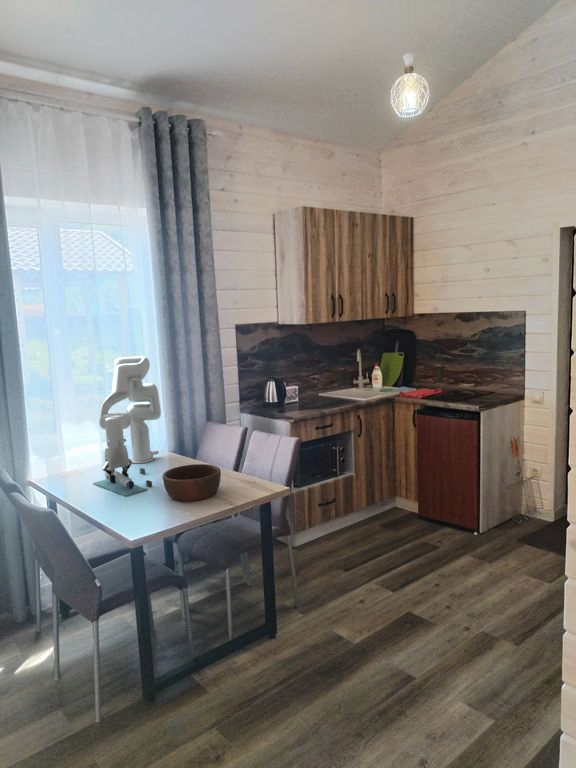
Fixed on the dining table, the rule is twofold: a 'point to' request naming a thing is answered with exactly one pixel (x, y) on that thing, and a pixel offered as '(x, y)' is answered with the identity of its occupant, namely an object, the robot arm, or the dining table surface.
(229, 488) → the dining table surface
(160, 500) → the dining table surface
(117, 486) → the mat
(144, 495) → the dining table surface
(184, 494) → the wooden bowl
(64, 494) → the dining table surface
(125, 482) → the grey tube
